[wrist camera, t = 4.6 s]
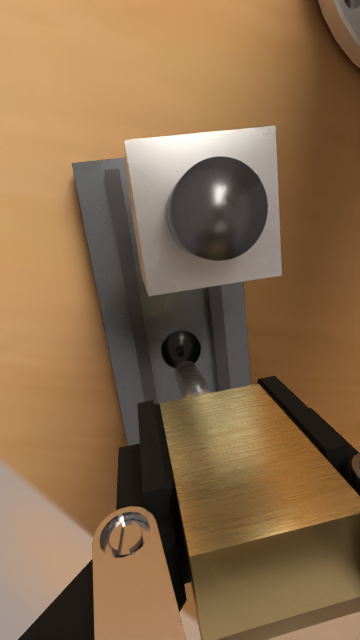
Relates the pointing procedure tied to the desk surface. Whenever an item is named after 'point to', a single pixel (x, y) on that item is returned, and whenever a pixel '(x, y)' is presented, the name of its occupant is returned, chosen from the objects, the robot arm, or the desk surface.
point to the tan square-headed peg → (256, 509)
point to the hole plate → (155, 307)
